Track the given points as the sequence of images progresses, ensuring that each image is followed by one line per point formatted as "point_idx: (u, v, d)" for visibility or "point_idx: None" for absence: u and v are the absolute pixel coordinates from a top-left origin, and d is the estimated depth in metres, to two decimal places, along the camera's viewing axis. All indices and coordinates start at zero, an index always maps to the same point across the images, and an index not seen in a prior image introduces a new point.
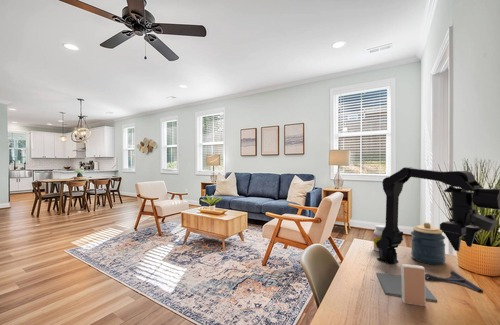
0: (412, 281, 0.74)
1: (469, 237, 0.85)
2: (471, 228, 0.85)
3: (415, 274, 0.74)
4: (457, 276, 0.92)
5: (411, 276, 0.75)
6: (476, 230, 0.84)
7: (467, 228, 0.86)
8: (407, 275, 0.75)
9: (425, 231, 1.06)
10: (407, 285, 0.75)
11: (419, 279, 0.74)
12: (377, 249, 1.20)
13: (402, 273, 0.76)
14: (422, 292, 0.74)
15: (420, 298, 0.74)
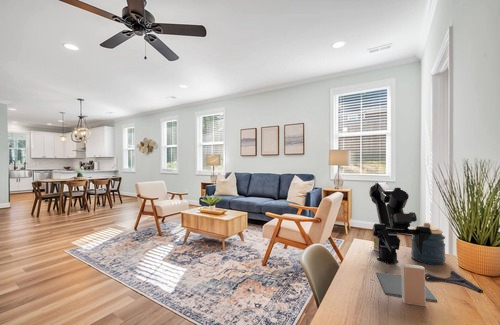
0: (412, 281, 0.74)
1: (418, 245, 0.84)
2: (417, 236, 0.86)
3: (414, 274, 0.74)
4: (457, 276, 0.92)
5: (411, 276, 0.75)
6: (418, 235, 0.85)
7: (416, 238, 0.87)
8: (407, 275, 0.75)
9: None
10: (407, 285, 0.75)
11: (419, 279, 0.74)
12: (377, 249, 1.20)
13: (402, 273, 0.76)
14: (422, 292, 0.74)
15: (420, 298, 0.74)
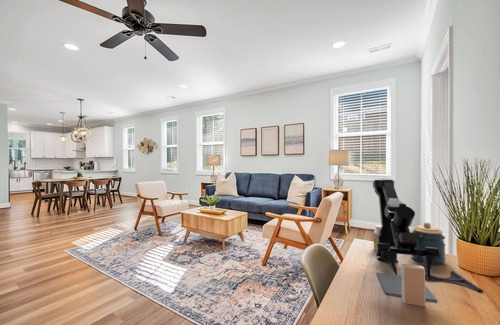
0: (412, 281, 0.74)
1: (426, 268, 0.77)
2: (425, 258, 0.79)
3: (414, 274, 0.74)
4: (457, 276, 0.92)
5: (411, 276, 0.75)
6: (426, 257, 0.77)
7: (424, 260, 0.79)
8: (407, 275, 0.75)
9: (425, 231, 1.06)
10: (407, 285, 0.75)
11: (419, 279, 0.74)
12: None
13: (402, 273, 0.76)
14: (422, 292, 0.74)
15: (420, 298, 0.74)
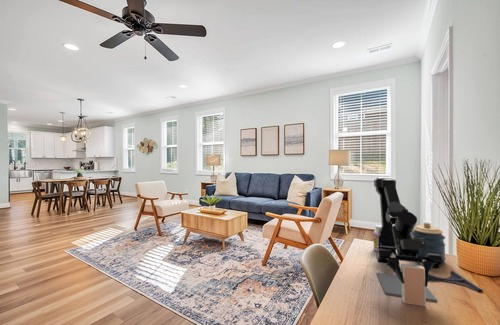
0: (412, 281, 0.74)
1: None
2: (423, 264, 0.77)
3: (415, 274, 0.74)
4: (457, 276, 0.92)
5: (411, 276, 0.74)
6: (423, 263, 0.76)
7: None
8: (407, 275, 0.75)
9: (425, 231, 1.06)
10: (407, 285, 0.75)
11: (419, 279, 0.74)
12: (377, 249, 1.20)
13: (402, 273, 0.76)
14: (422, 292, 0.74)
15: (420, 298, 0.74)
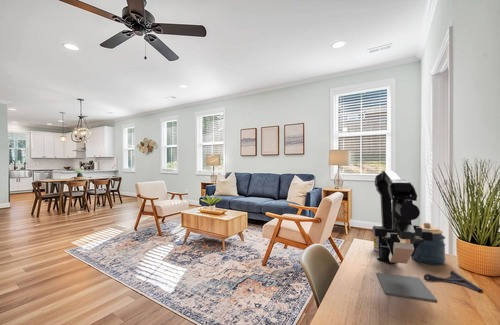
0: (400, 254, 0.86)
1: None
2: None
3: (404, 251, 0.85)
4: (457, 276, 0.92)
5: (400, 252, 0.85)
6: (414, 241, 0.84)
7: None
8: (397, 251, 0.86)
9: None
10: (395, 255, 0.88)
11: (407, 253, 0.85)
12: (377, 249, 1.20)
13: (393, 248, 0.87)
14: (406, 259, 0.88)
15: (404, 260, 0.89)
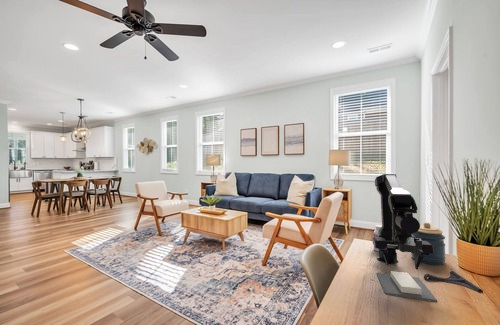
0: None
1: (416, 260, 0.85)
2: (418, 251, 0.85)
3: None
4: (457, 276, 0.92)
5: None
6: (419, 254, 0.83)
7: (417, 251, 0.86)
8: None
9: (425, 231, 1.06)
10: None
11: None
12: (377, 249, 1.20)
13: (398, 285, 0.83)
14: None
15: None
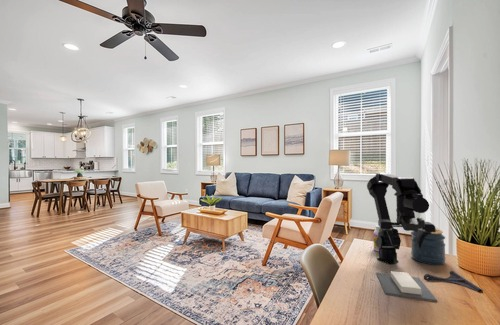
0: None
1: (419, 239, 0.92)
2: (421, 231, 0.91)
3: None
4: (456, 276, 0.92)
5: None
6: (422, 233, 0.90)
7: (419, 231, 0.92)
8: None
9: None
10: None
11: None
12: (377, 249, 1.20)
13: (398, 285, 0.83)
14: None
15: None
